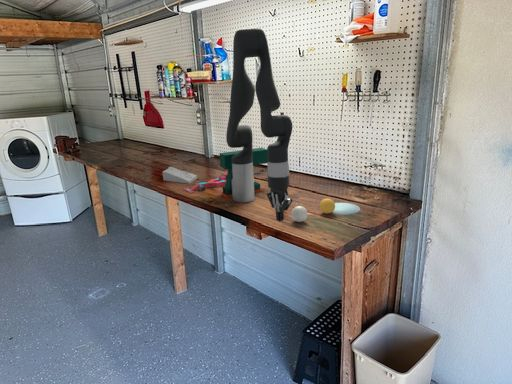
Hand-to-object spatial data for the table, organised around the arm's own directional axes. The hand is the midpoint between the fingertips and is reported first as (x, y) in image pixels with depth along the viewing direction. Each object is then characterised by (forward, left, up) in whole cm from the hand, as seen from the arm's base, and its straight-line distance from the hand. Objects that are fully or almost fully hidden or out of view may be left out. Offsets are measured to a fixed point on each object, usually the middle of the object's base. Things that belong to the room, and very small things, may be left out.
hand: (280, 220), depth 136 cm
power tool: (-41, +30, -3) cm, 50 cm away
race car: (-65, +22, -4) cm, 68 cm away
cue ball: (+1, +10, 0) cm, 10 cm away
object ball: (+5, +23, 0) cm, 24 cm away
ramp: (-92, +22, -4) cm, 94 cm away
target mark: (+7, +31, -3) cm, 32 cm away
